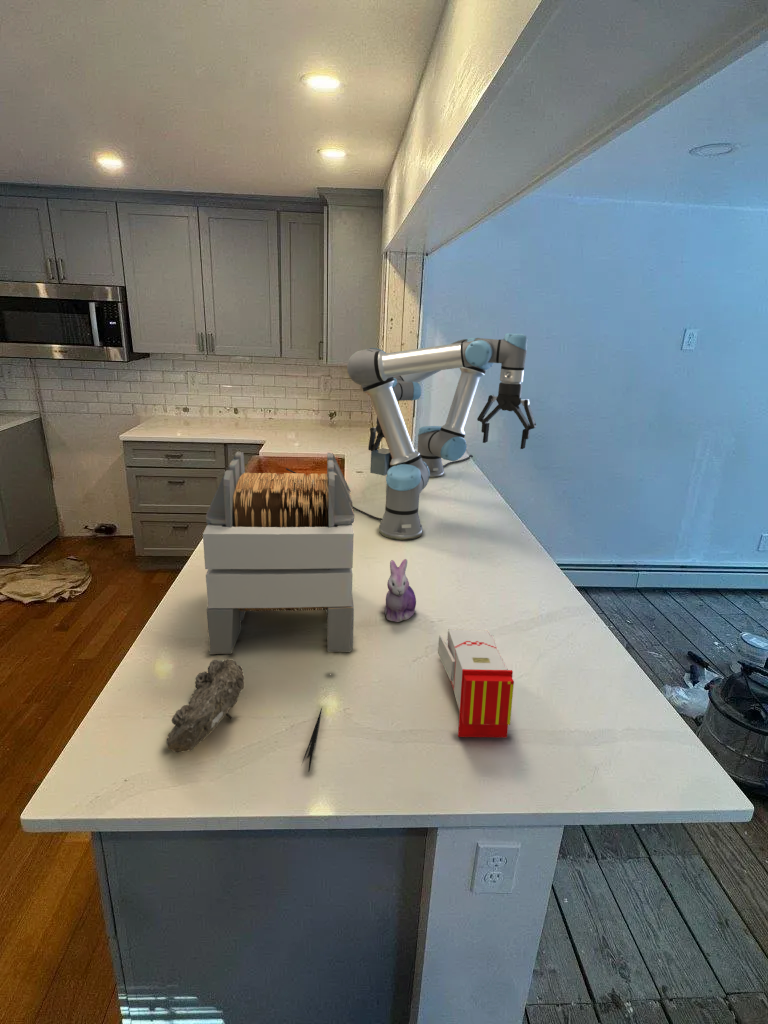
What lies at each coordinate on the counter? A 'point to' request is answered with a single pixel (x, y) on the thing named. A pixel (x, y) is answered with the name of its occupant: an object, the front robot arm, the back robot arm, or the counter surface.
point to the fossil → (206, 705)
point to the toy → (478, 682)
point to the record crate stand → (279, 550)
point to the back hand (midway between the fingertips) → (383, 468)
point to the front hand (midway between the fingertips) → (503, 445)
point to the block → (380, 461)
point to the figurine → (399, 594)
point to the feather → (313, 740)
